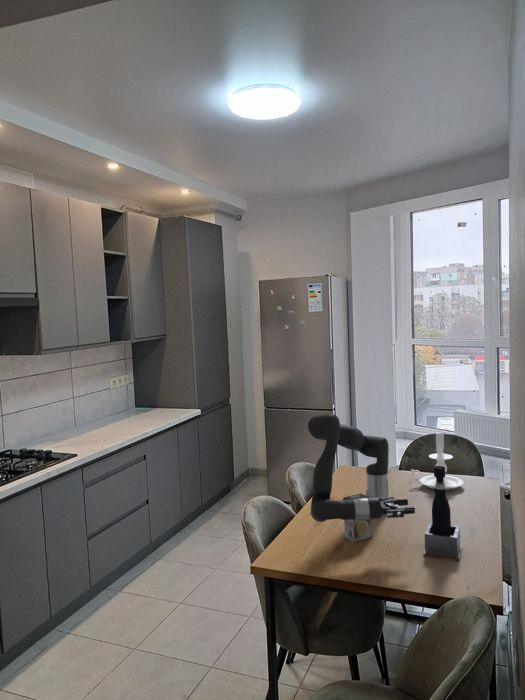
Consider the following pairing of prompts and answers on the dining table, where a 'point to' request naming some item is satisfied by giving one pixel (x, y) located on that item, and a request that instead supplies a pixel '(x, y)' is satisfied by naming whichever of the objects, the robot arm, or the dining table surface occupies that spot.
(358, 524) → the coffee box
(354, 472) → the dining table surface
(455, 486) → the candlestick
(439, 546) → the bottle sleeve
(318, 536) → the dining table surface
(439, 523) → the wine bottle
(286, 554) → the dining table surface
